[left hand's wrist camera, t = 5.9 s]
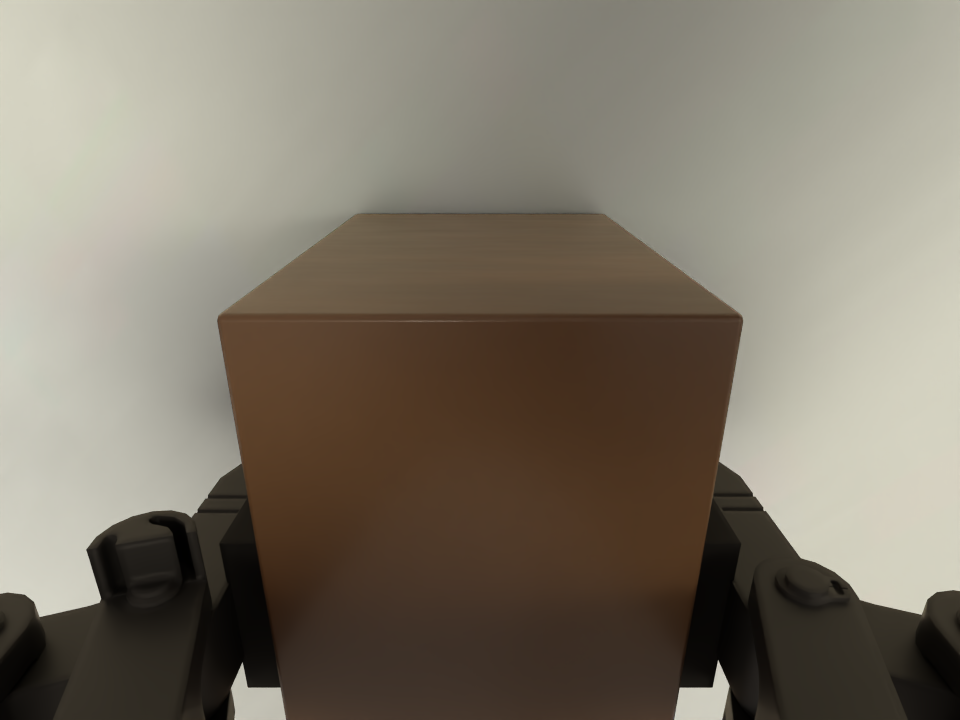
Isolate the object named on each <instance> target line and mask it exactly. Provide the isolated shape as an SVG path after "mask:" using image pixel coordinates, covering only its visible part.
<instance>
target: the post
mask: <svg viewBox="0 0 960 720" xmlns="http://www.w3.org/2000/svg"><path fill="white" fill-rule="evenodd" d="M217 322H218V328H219V333H220V339H221V345H222V351H223V357H224V362H225V368H226V374H227V380H228V385H229V391H230V397H231V403H232V409H233V414H234V420H235V426H236V432H237V437H238V443H239V449H240V455H241V461H242V466H243V472H244V478H245V484H246V489H247V495H248V501H249V507H250V513H251V518H252V524H253V530H254V536H255V541H256V547H257V553H258V559H259V565H260V570H261V576H262V582H263V588H264V593H265V599H266V605H267V611H268V617H269V622H270V628H271V634H272V640H273V646H274V651H275V657H276V663H277V669H278V674H279V680H280V686H281V692H282V698H283V703H284V709H285V715H286V720H674V717H675V711H676V705H677V699H678V694H679V688H680V682H681V676H682V670H683V665H684V659H685V653H686V647H687V642H688V636H689V630H690V624H691V619H692V613H693V607H694V601H695V596H696V590H697V584H698V578H699V573H700V567H701V561H702V555H703V549H704V544H705V538H706V532H707V526H708V521H709V515H710V509H711V503H712V498H713V492H714V486H715V480H716V475H717V469H718V463H719V457H720V451H721V446H722V440H723V434H724V428H725V423H726V417H727V411H728V405H729V400H730V394H731V388H732V382H733V377H734V371H735V365H736V359H737V354H738V348H739V342H740V336H741V330H742V325H743V318H742V315H741V314H739V313H738V312H737V311H735V310H734V309H733V308H731V307H730V306H728V305H727V304H726V303H724V302H723V301H722V300H720V299H719V298H718V297H716V296H715V295H713V294H712V293H711V292H709V291H708V290H707V289H705V288H704V287H703V286H701V285H700V284H698V283H697V282H696V281H694V280H693V279H692V278H690V277H689V276H688V275H686V274H685V273H684V272H682V271H681V270H679V269H678V268H677V267H675V266H674V265H673V264H671V263H670V262H669V261H667V260H666V259H664V258H663V257H662V256H660V255H659V254H658V253H656V252H655V251H654V250H652V249H651V248H649V247H648V246H647V245H645V244H644V243H643V242H641V241H640V240H639V239H637V238H636V237H635V236H633V235H632V234H630V233H629V232H628V231H626V230H625V229H624V228H622V227H621V226H620V225H618V224H617V223H615V222H614V221H613V220H611V219H610V218H609V217H607V216H606V215H604V214H356V215H355V216H353V217H352V218H350V219H349V220H348V221H346V222H345V223H344V224H342V225H341V226H340V227H338V228H337V229H335V230H334V231H333V232H331V233H330V234H329V235H327V236H326V237H325V238H323V239H322V240H320V241H319V242H318V243H316V244H315V245H314V246H312V247H311V248H310V249H308V250H307V251H305V252H304V253H303V254H301V255H300V256H299V257H297V258H296V259H295V260H293V261H292V262H290V263H289V264H288V265H286V266H285V267H284V268H282V269H281V270H280V271H278V272H277V273H275V274H274V275H273V276H271V277H270V278H269V279H267V280H266V281H265V282H263V283H262V284H261V285H259V286H258V287H256V288H255V289H254V290H252V291H251V292H250V293H248V294H247V295H246V296H244V297H243V298H241V299H240V300H239V301H237V302H236V303H235V304H233V305H232V306H231V307H229V308H228V309H226V310H225V311H224V312H222V313H221V314H220V315H219V316H218V320H217Z"/></svg>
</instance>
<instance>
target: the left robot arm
mask: <svg viewBox="0 0 960 720" xmlns="http://www.w3.org/2000/svg"><path fill="white" fill-rule="evenodd" d="M86 550H87V553H88V556H89V560H90V563H91V566H92V570H93V573H94V576H95V579H96V583H97V586H98V589H99V593H100V596H101V601H100V603H98V604H94V605H91V606H87V607H83V608H79V609H74V610H70V611H65V612H61V613H56V614H52V615H48V616H43V617H39V615H38V612H37V609H36V606H35V604H34V602H33V601H32V600H31V599H29V598H28V597H27V596H26V595H22V594H14V593H3V594H0V720H234V716H235V708H234V701H233V696H232V691H231V687H232V684H233V682H234V680H235V678H236V675H237V673H238V671H239V669H240V666H241V664H242V662H243V665H244V670H245V675H246V680H247V685H248V687H281V686H280V680H279V674H278V669H277V663H276V657H275V651H274V646H273V640H272V634H271V628H270V622H269V617H268V611H267V605H266V599H265V593H264V588H263V582H262V576H261V570H260V565H259V559H258V553H257V547H256V541H255V536H254V530H253V524H252V518H251V513H250V507H249V501H248V495H247V489H246V484H245V478H244V472H243V466H242V464H240V465H239V466H238V467H236V468H235V469H233V470H232V471H230V472H229V473H227V474H226V475H224V476H223V477H222V478H220V480H219V481H218V482H217V484H216V485H215V487H214V488H213V489H212V491H211V492H210V493H209V495H208V499H205V500H204V502H203V503H202V504H201V506H200V507H199V508H198V512H197V513H195V514H194V515H193V517H192V518H191V517H189V516H188V515H187V514H185V513H181V512H176V511H172V510H170V511H152V512H149V513H145V514H141V515H137V516H133V517H130V518H128V519H126V520H124V521H121V522H119V523H117V524H115V525H112V526H111V527H110V528H108V529H107V530H105V531H104V532H103V533H101V534H100V535H98V536H97V537H96V538H95V539H94V541H93V542H92V543H91V544H90V546H89V547H88V548H87V549H86ZM718 660H719V662H720V665H721V667H722V669H723V671H724V674H725V676H726V678H727V680H728V683H729V685H730V687H729V691H728V696H727V700H726V705H725V710H724V714H723V719H722V720H960V591H955V590H952V591H944V592H937V593H935V594H934V595H933V596H931V597H930V598H929V599H928V600H927V602H926V605H925V608H924V611H923V613H922V615H919V614H915V613H911V612H906V611H902V610H897V609H893V608H888V607H884V606H879V605H875V604H871V603H868V602H864V601H861V600H859V598H858V596H857V595H856V593H855V592H854V590H853V589H852V587H851V586H850V584H848V583H847V582H846V581H845V580H843V579H842V578H841V577H840V576H838V575H837V574H836V573H835V572H833V571H831V570H829V569H827V568H825V567H823V566H821V565H819V564H817V563H815V562H812V561H808V560H804V559H801V558H800V557H799V555H798V554H797V553H796V551H795V550H794V549H793V547H792V546H791V545H790V543H789V542H788V541H787V539H786V538H785V536H784V535H783V534H782V532H781V531H780V530H779V528H778V527H777V526H776V524H775V523H774V522H773V520H772V519H771V517H770V516H769V515H768V513H767V512H766V511H763V507H762V505H761V504H760V503H759V501H758V500H757V498H756V497H753V493H752V492H751V490H750V489H749V488H748V486H747V485H746V484H745V482H744V481H743V479H742V478H741V477H740V476H739V475H738V474H736V473H735V472H733V471H732V470H730V469H729V468H727V467H726V466H724V465H723V464H721V463H720V462H719V463H718V469H717V475H716V480H715V486H714V492H713V498H712V503H711V509H710V515H709V521H708V526H707V532H706V538H705V544H704V549H703V555H702V561H701V567H700V573H699V578H698V584H697V590H696V596H695V601H694V607H693V613H692V619H691V624H690V630H689V636H688V642H687V647H686V653H685V659H684V665H683V670H682V676H681V682H680V687H713V682H714V677H715V672H716V667H717V662H718Z"/></svg>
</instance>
